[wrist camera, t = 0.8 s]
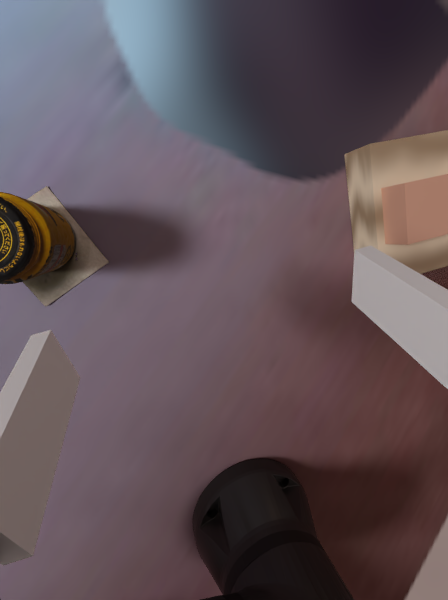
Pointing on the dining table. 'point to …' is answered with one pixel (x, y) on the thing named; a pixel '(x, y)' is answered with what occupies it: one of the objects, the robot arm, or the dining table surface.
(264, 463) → the robot arm
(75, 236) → the condiment
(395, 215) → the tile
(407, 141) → the board
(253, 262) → the dining table surface
